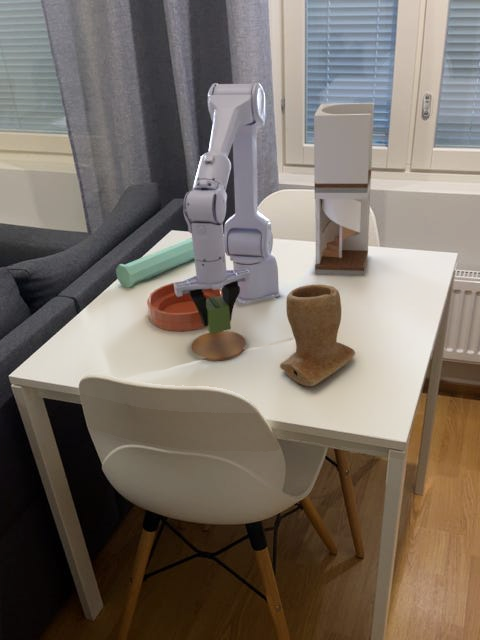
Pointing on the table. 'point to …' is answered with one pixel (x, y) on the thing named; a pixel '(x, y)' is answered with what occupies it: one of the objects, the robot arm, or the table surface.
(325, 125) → the spiral staircase tower
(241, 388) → the table surface
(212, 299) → the green grooved block
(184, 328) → the bowl
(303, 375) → the stone cup
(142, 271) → the container
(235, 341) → the coaster
